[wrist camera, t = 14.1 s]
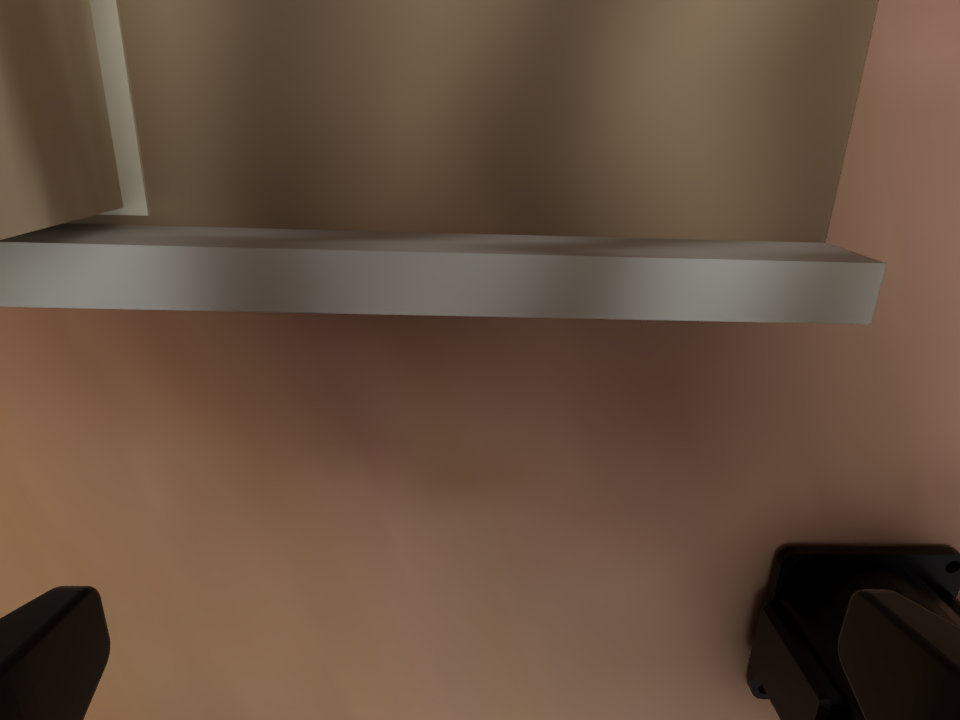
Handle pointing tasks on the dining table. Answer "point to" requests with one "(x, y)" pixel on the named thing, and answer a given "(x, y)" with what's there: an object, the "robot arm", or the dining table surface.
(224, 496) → the dining table surface
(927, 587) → the robot arm
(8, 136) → the block
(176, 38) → the walnut board
